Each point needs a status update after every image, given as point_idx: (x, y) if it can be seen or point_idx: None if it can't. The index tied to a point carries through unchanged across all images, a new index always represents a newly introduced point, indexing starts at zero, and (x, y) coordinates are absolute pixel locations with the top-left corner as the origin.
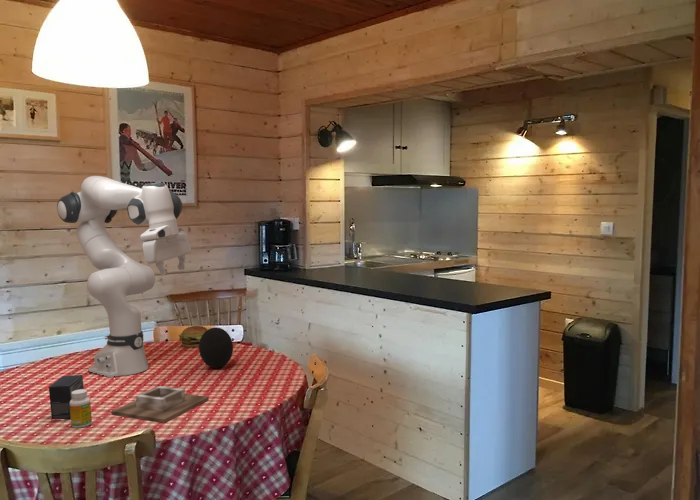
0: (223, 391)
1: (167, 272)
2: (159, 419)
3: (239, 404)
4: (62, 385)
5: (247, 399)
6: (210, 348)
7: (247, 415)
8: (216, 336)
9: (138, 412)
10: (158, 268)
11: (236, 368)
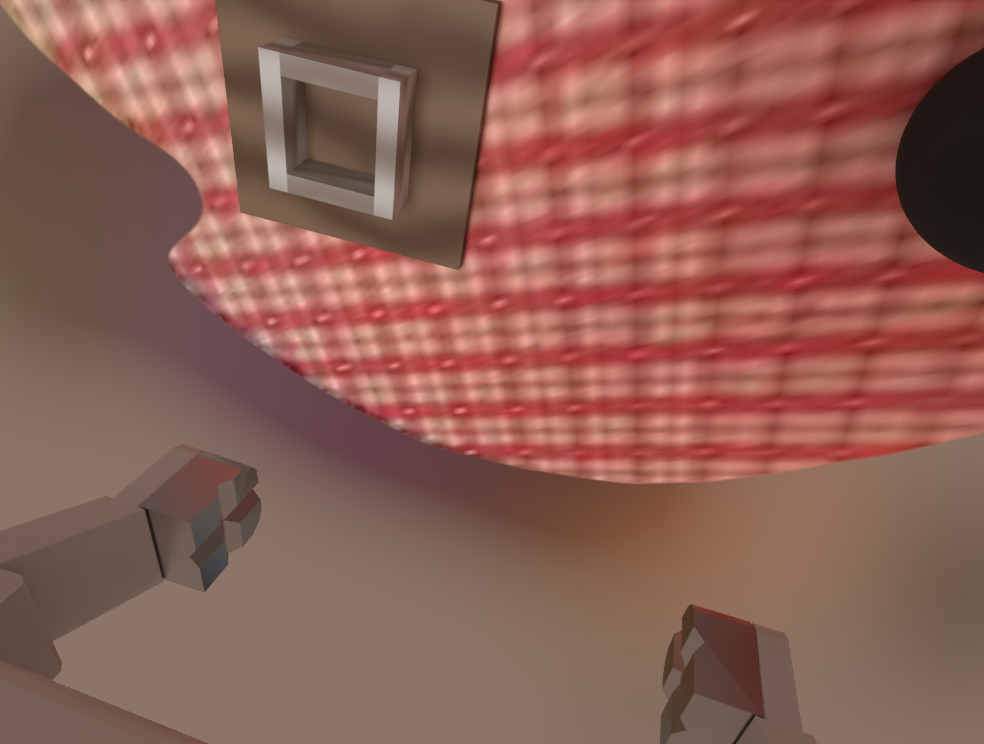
0: (558, 283)
1: (244, 542)
2: (239, 193)
3: (446, 364)
4: None
5: (491, 375)
6: (912, 172)
7: (376, 400)
8: (975, 233)
9: (247, 81)
10: (51, 524)
11: None
